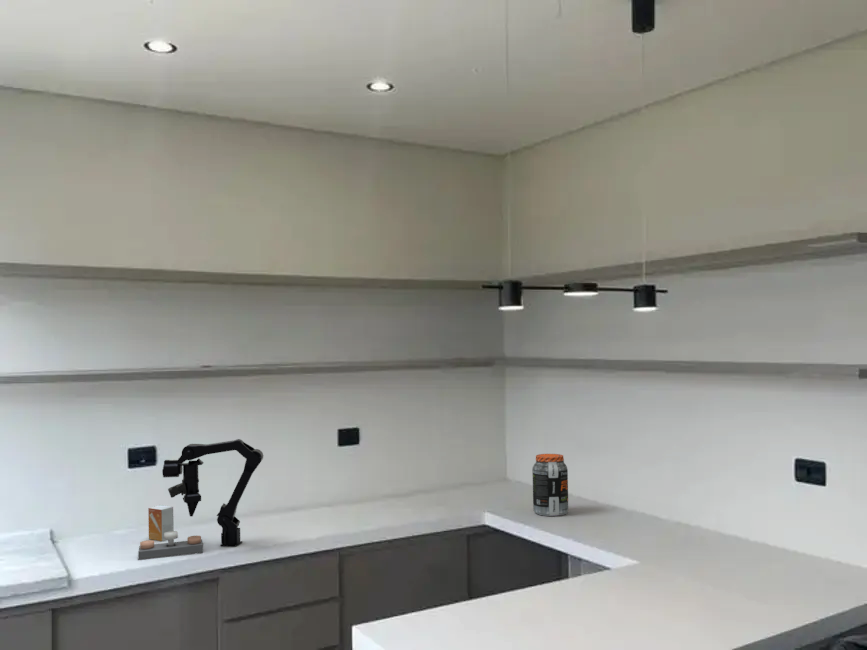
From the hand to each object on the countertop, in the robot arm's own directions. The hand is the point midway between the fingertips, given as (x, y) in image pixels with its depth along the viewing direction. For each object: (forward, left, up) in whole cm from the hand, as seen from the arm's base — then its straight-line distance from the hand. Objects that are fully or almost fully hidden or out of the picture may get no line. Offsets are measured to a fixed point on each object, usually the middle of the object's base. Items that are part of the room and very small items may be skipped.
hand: (191, 516), depth 298 cm
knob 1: (+11, +14, -12) cm, 21 cm away
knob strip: (+3, +9, -12) cm, 16 cm away
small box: (+19, -11, -12) cm, 25 cm away
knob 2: (-4, +5, -12) cm, 14 cm away
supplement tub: (-138, -70, -12) cm, 155 cm away
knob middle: (+3, +9, -9) cm, 14 cm away
